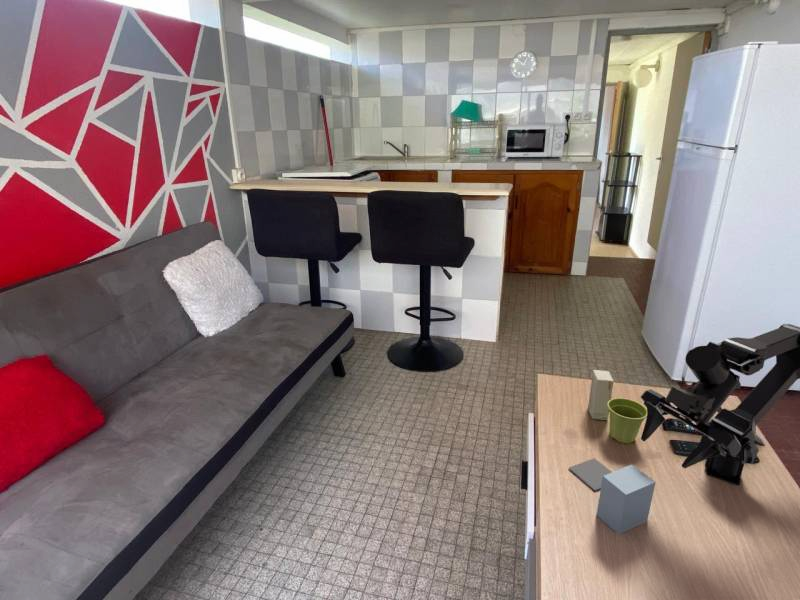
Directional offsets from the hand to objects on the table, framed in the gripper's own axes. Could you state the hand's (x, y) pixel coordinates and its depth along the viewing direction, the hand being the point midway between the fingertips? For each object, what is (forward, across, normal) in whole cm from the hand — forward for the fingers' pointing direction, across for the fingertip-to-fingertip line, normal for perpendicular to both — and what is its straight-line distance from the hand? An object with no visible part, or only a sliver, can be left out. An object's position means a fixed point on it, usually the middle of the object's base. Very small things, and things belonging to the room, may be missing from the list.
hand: (661, 453), depth 94 cm
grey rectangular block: (+15, 0, +4) cm, 16 cm away
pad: (+12, -12, +7) cm, 18 cm away
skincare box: (-2, -30, +21) cm, 37 cm away
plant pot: (0, -20, +19) cm, 28 cm away
